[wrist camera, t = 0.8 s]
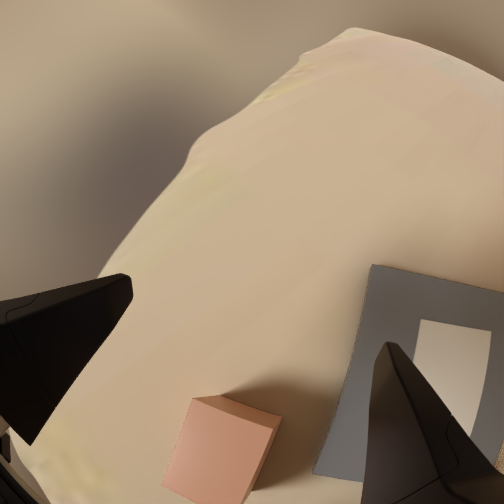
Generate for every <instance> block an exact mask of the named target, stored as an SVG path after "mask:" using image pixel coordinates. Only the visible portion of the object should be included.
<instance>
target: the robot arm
mask: <svg viewBox="0 0 504 504" xmlns="http://www.w3.org/2000/svg"><path fill="white" fill-rule="evenodd" d="M132 299H133V288H132V281H131V278H130V276H128V275H125V274H122V273H119V274H115V275H111V276H106V277H102V278H98V279H94V280H90V281H86V282H82V283H78V284H74V285H69V286H66V287H61V288H57V289H53V290H49V291H45V292H41V293H37V294H33V295H29V296H24V297H20V298H15V299H10V300H4V301H0V504H48V503H47V502H45V501H44V500H43V499H42V498H41V497H40V496H39V495H38V494H37V493H36V492H35V491H34V490H33V489H32V488H31V487H30V486H29V485H28V484H27V483H26V482H25V481H24V480H23V479H22V478H21V477H20V476H19V475H18V474H17V473H16V471H14V469H13V468H12V467H11V466H10V465H9V463H10V462H11V456H10V436H9V435H8V434H7V432H6V431H7V430H8V429H9V427H11V428H12V429H13V430H14V431H15V432H16V433H17V434H18V435H19V436H20V437H21V438H22V439H23V440H24V441H25V442H26V443H27V444H28V445H29V446H31V445H32V443H33V442H34V440H35V439H36V437H37V436H38V434H39V433H40V431H41V429H42V428H43V426H44V425H45V423H46V422H47V420H48V419H49V417H50V416H51V414H52V413H53V411H54V410H55V407H57V405H58V404H59V402H60V401H61V399H62V398H63V396H64V395H65V394H66V392H67V391H68V389H69V388H70V387H71V385H72V384H73V382H74V381H75V380H76V378H77V377H78V375H79V374H80V373H81V371H82V370H83V369H84V367H85V366H86V365H87V363H88V362H89V361H90V359H91V358H92V357H93V355H94V354H95V353H96V351H97V350H98V349H99V347H100V346H101V345H102V344H103V342H104V341H105V340H106V338H107V337H108V336H109V335H110V333H111V332H112V331H113V329H114V328H115V326H116V325H117V323H118V321H119V320H120V318H121V317H122V315H123V314H124V312H125V311H126V309H127V307H128V306H129V304H130V303H131V301H132ZM361 504H504V474H502V473H500V472H499V471H498V470H496V469H495V467H494V466H493V465H492V464H491V463H490V461H489V460H488V459H487V458H486V457H485V455H484V454H483V453H482V452H481V451H480V449H479V448H478V447H477V446H476V445H475V443H474V442H473V441H472V440H471V438H470V437H469V436H468V435H467V433H466V432H465V431H464V429H463V428H462V427H461V425H460V424H459V423H458V421H457V420H456V419H455V417H454V416H453V415H452V413H451V412H450V410H449V409H448V408H447V406H446V405H445V404H444V402H443V401H442V399H441V398H440V397H439V395H438V394H437V393H436V392H435V390H434V389H433V388H432V386H431V385H430V384H429V382H428V381H427V380H426V378H425V377H424V376H423V375H422V373H421V372H420V371H419V369H418V368H417V367H416V366H415V364H414V363H413V362H412V361H411V359H410V358H409V357H408V356H407V354H406V353H405V352H404V351H403V349H402V348H401V347H400V346H399V345H398V344H397V343H395V342H389V341H386V342H385V343H384V344H383V346H382V348H381V350H380V352H379V354H378V356H377V357H376V360H375V362H374V368H373V378H372V387H371V395H370V403H369V421H368V441H367V454H366V465H365V475H364V483H363V491H362V498H361Z"/></svg>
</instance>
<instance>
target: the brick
mask: <svg viewBox="0 0 504 504" xmlns="http://www.w3.org/2000/svg"><path fill="white" fill-rule="evenodd" d="M281 420H282V417H280V416H277V415H274V414H271V413H268V412H265V411H261V410H258V409H256V408H253V407H250V406H247V405H244V404H241V403H239V402H236V401H233V400H231V399H228V398H226V397H223V396H220V395H216V396H208V397H199V398H192V401H191V404H190V406H189V409H188V412H187V415H186V417H185V420H184V423H183V426H182V428H181V431H180V434H179V437H178V439H177V442H176V445H175V448H174V450H173V453H172V456H171V459H170V461H169V464H168V467H167V470H166V473H165V475H164V478H163V481H162V484H161V485H162V486H164V487H166V488H168V489H169V490H171V491H173V492H175V493H177V494H179V495H181V496H183V497H185V498H187V499H189V500H191V501H193V502H195V503H197V504H243V503H244V502H245V500H246V499H247V497H248V496H249V494H250V493H251V491H252V489H253V486H254V484H255V482H256V480H257V478H258V475H259V473H260V471H261V469H262V466H263V464H264V462H265V460H266V457H267V455H268V453H269V450H270V448H271V445H272V443H273V440H274V438H275V435H276V433H277V430H278V428H279V425H280V423H281Z"/></svg>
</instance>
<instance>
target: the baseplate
mask: <svg viewBox="0 0 504 504" xmlns="http://www.w3.org/2000/svg"><path fill="white" fill-rule="evenodd" d="M386 341H389V342H395V343H397V344H398V345H399V346H400V347H401V348H402V349H403V351H404V352H405V353H406V354H407V356H408V357H409V358H410V359H411V361H412V362H413V363H414V364H415V366H416V367H417V368H418V369H419V371H420V372H421V373H422V375H423V376H424V377H425V378H426V380H427V381H428V382H429V384H430V385H431V386H432V388H433V389H434V390H435V392H436V393H437V394H438V395H439V397H440V398H441V399H442V401H443V402H444V404H445V405H446V406H447V408H448V409H449V410H450V412H451V413H452V415H453V416H454V417H455V419H456V420H457V421H458V423H459V424H460V425H461V427H462V428H463V429H464V431H465V432H466V433H467V435H468V436H469V437H470V438H471V440H472V441H473V442H474V443H475V445H476V446H477V447H478V448H479V449H480V451H481V452H482V453H483V454H484V455H485V457H486V458H487V459H488V460H489V461H490V463H491V464H492V465H493V466H494V464H495V462H496V459H497V457H498V454H499V451H500V449H501V446H502V443H503V440H504V293H500V292H496V291H491V290H487V289H483V288H478V287H474V286H470V285H465V284H461V283H456V282H452V281H448V280H443V279H439V278H434V277H430V276H425V275H420V274H416V273H411V272H407V271H402V270H397V269H393V268H388V267H383V266H379V265H374V264H372V266H371V268H370V272H369V278H368V284H367V289H366V295H365V300H364V305H363V310H362V314H361V319H360V324H359V328H358V332H357V337H356V341H355V345H354V349H353V353H352V356H351V360H350V364H349V367H348V371H347V374H346V378H345V381H344V385H343V388H342V391H341V394H340V397H339V400H338V404H337V407H336V410H335V412H334V415H333V418H332V421H331V424H330V427H329V429H328V432H327V435H326V437H325V440H324V442H323V445H322V448H321V450H320V452H319V455H318V457H317V460H316V462H315V464H314V467H313V469H312V474H316V475H321V476H326V477H331V478H337V479H344V480H351V481H358V482H364V475H365V465H366V454H367V441H368V421H369V403H370V395H371V387H372V378H373V368H374V362H375V360H376V357H377V356H378V354H379V352H380V350H381V348H382V346H383V344H384V343H385V342H386Z"/></svg>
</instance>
